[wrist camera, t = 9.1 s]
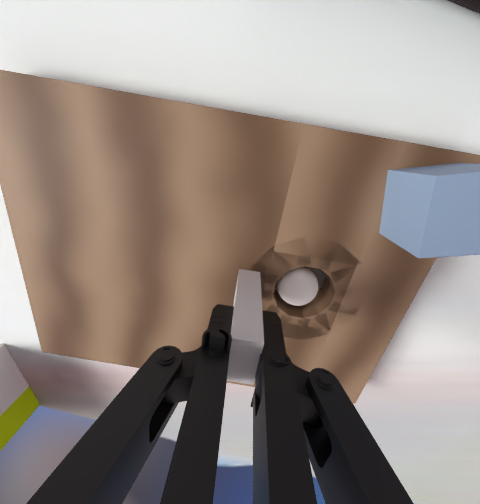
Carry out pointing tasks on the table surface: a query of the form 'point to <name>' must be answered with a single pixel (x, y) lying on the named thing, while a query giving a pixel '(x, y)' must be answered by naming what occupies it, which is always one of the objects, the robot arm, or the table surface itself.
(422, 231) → the blue block
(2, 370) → the puzzle toy
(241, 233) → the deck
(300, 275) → the ball
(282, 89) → the table surface
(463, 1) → the diary
